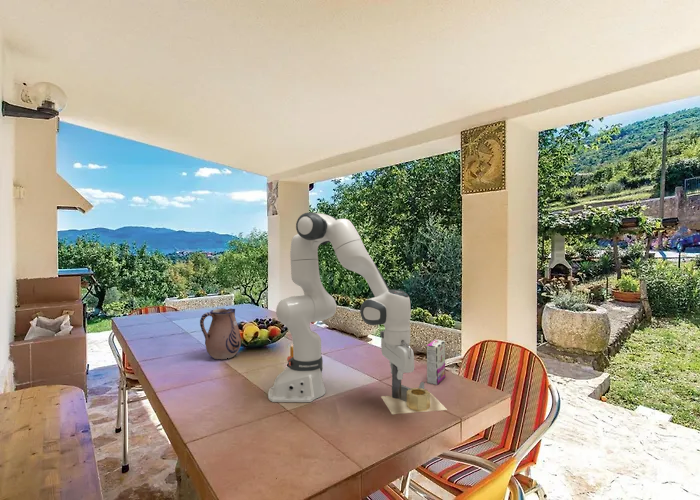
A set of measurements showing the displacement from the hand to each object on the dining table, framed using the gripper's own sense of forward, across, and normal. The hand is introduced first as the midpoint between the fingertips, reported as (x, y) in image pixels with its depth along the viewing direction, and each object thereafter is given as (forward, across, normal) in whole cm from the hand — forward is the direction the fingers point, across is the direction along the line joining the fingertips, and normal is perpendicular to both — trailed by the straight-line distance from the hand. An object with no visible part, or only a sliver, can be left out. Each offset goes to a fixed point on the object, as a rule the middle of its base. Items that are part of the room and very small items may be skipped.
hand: (396, 376), depth 128 cm
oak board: (+13, +3, -8) cm, 16 cm away
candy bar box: (+14, +24, -30) cm, 41 cm away
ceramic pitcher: (+16, +84, +62) cm, 106 cm away
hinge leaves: (+11, +3, -9) cm, 15 cm away
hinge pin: (+7, 0, 0) cm, 7 cm away
